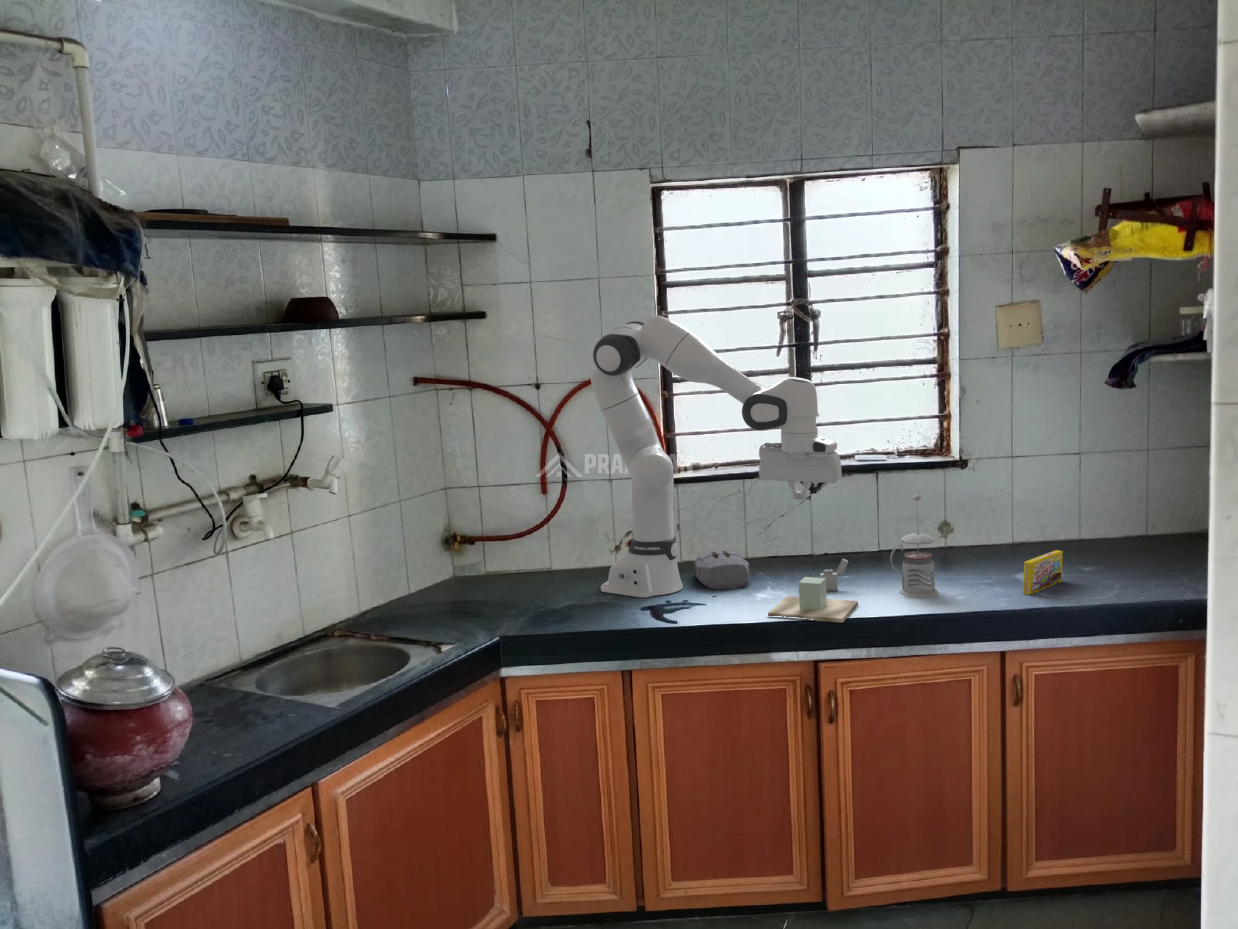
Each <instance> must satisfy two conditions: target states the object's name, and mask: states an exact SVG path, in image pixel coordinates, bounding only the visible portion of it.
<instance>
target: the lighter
mask: <svg viewBox="0 0 1238 929" xmlns="http://www.w3.org/2000/svg"><path fill="white" fill-rule="evenodd" d="M848 563H849V561H848V560H847V559H845V558H841V561H840V562H839V565H838V567H837V569H836V572H833V569H825V570H823V572H822V573H819V578H826V590H827V591H826V592H828V590H834V591H838V576H840V577H842V576H843V574H844V572H845V571H846V569H847V566H848Z"/></svg>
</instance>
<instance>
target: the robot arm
mask: <svg viewBox="0 0 1238 929" xmlns="http://www.w3.org/2000/svg"><path fill="white" fill-rule="evenodd" d="M592 352H593V353H592V358H593V363H594V365H595V367H594V369H592V371H591V373H590V382H591V386H592V390H593V394H594V397H595V400H596V402H597V405H598V407H599V409H600V411H601V414H602V416H603V417H604V419H605V423H606V424H607V427H608V428H609V429H608V430H609V431H610V433H611V435H612V437H613V440H614V443H615V444H616V447H617V449H618V452H619V454H620V456H621V458H622V460H623V463H624V465H625V467H626V469H627V471H628V473H629V475H630V477H631V491H632V492H631V496H632V497H631V518H632V535H633V536H632V538H631V539H628V541H626V542H625V543H624V544H625V546H624V547H625V548H628V550H627V552H626V553H625V554H623V555H622V556H621V557H620V558H619V559H618V560H617V561H615V562H614V563H613V564H612V565H611V566H610V568H609V571H608V572H609V573H608V579H607V581H605V582H604V583H602V584H601V586H600V592H602V593H608V594H617V595H622V596H630V597H636V598H650V597H653V596H654V597H655V596H661V595H662V596H664V595H667V594H672V593H673V594H674V593H676V592H679V591H681V590H682V589H684V586H683V582H682V580H681V577H680V576H681V575H680V573H679V567H678V561H677V558H678V557H677V556H678V553H677V552H678V547H677V546H678V545H677V537H676V536H675V527H674V526H675V525H674V481H675V480H674V463H673V461H672V459H671V458H670V456H669V455H668V454H667V453H666V452H665V451H664V449H663V446H662V444H661V442H660V440H659V437H658V435H657V432H656V430H655V427H654V425H653V421H652V419H651V417H650V414H649V413H648V410H647V408H646V406H645V404H644V401H643V399H642V397H641V395H640V393H639V389H638V388H637V386H636V383H635V381H634V379H633V371H634V369H635V368H638V367H640V366H641V365H642V364H643V363H644V362H645V361H646V360H648V359H650V360H654V361H655V362H657V363H658V364H659V365H661V366H662V367H664V368H665V369H666V370H668V371H669V372H671V373H672V374H673V375H676V376H677V377H679V378H681V379H683V380H685V381H688V382H692V383H699V384H700V383H701V384H706V385H711V386H713V387H717V388H719V389H720V390H721V391H723V392H724V393H726V394H728V395H729V396H731V397H733V398H734V399H735V400H737V401H738V402H740V403H741V404H742V407H741V416H742V417H741V418H742V419H743V421H744V423H745V424H746V425H747V426H748V427H749V428H750V429H752V430H754V431H755V430H756V431H760V432H762V431H763V432H764V431H769V430H772V429H775V428H779V429H780V441H781V442H773V443H772V442H765V443H764V444H762V445H760V447H759V450H758V457H759V459H760V460H759V465H758V477H759V478H760V479H761V480H762V481H781V482H782V481H783V482H785V481H786V482H788V487H789V489H790V490H791V492H792V499H793V500H801V501H802V500H803V501H806V500H807V492H808V491H809V489H810V488H811V485H812V483H826V484H827V483H828V484H837V483H839V481H840V480H841V479H842V474H843V473H842V463H841V462H842V461H841V457H840V454H838V452H837V451H836V450H837V448H838V443H837V442H836V441H834V440H831V439H829V438H825V437H823V436H820V435H819V433H818V431H819V429H818V426H817V417H818V414H819V413H818V411H819V410H818V396H817V389H816V386H815V385H816V384H814V383H813V382H812V381H811V380H810V379H806V378H802V377H797V376H786V377H784V378H783V379H782V380H781V381H779V382H778V383H776V384H773V385H771V386H765V385H762V384H759V383H757V382H756V381H754V380H752V379H751V378H749V377H748V376H746V375H745V374H744V373H742V372H740V371H739V370H737V369H736V368H735V367H733V366H732V365H730V364H729V363H728V362H726V360H724V359H723V358H722V357H721V356H720V355H718V353H717V352H715V350H714V349H712V348H711V347H710V346H709V345H708V344H707V343H706V342H705V341H703V339H701V338H700V337H698V336H697V335H696V334H695V333H694V332H692V331H691V330H689V329H687V328H686V327H685V326H682V325H681V324H680V323H677V322H675V321H674V320H671V319H669V318H668V317H664V315H663V316H662V315H655V316H652V317H651V318H648V319H647V320H646V321H645V322H643V321H637V320H636V321H629V322H627V323H624V324H623V325H620V326H618V327H615V328H614V329H612V331H610V332H609V333H607V334H606V335H604V336H602V337H601V338H600V339H599V340H598V341H597V343H596V344H595V346H594V348H593V351H592ZM797 482H800V483H801V482H802V486H803V487H804V488H803V490H802V491H800V490H799V491H798V489H797V486H796V485H797Z"/></svg>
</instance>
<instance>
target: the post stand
mask: <svg viewBox="0 0 1238 929" xmlns="http://www.w3.org/2000/svg"><path fill="white" fill-rule="evenodd" d="M826 599H827V605H826V606H825V607H824V608H823V609H822V610H821V611H820V610H807V609H800V604H799V596H790V595H786V596H785V597H784V598H783V599H781V601H780V602H778V603H777V604H776V605H775V606H774V607H772V609H770V610H769V611H768V612H767V617H768V616H782V617H784V616H785V617H797V618H798V617H799V618H806V619H813V620H812V621H814V620H815V622H829V623H841V624H842V623H844V622H845V621H846V620H847V619H848V617H849V616H850V615H851V614H852V613H853V612H854V611H855V610H856V608H857V607H858V605H859V601H858V600H849V599H848V600H847V599H835V598H834V599H833V598H826ZM856 606H857V607H856ZM850 613H851V614H850ZM849 614H850V615H849ZM847 616H848V617H847Z"/></svg>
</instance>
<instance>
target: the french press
mask: <svg viewBox="0 0 1238 929" xmlns="http://www.w3.org/2000/svg"><path fill="white" fill-rule="evenodd" d="M912 500H913V501H916V502H918V501H921V500H922V499H921V496H920V495H919V494H915V495H914V496H913V497H912ZM918 516H919V515H918V508H916V532H913V533H908V534H906V535H905V536H903V537H901V539H900V541H901V542H902V543H903V544H908V545H916V546H917V547H916V548H917V549H919V545H928V544H933V543H934V541H935V538H934V537H933V536H931V535H929V534H925V533H923V532H919V524H918V523H919V522H918V520H919V518H918ZM903 544H898V545H895V547H894V548H892V550H891V553H890V559H889V560H890V563H891V567H892V569H893V570H894V571H895V572H896V573H898V574H900V575H901V587H902V588H900V590H899V591H898V594H900V595H901V596H904V597H906V596H907V597H906V598H913V599H926V598H933V597H932V596H934V597H936V596H938V595H939V593H940V592H939V590H937V589H936V588H935V587H936V586H935V585H936V583H935V574H936V573H935V560H934V559H932V558H933V556H934V555H933V554H932V553H930V552H925V551H911V552H910V551H909V552H905V553H904V554H903V557H904V558H903V559H902V571H901V570H898V569H897V568H896V567H895V566H894V564H893V556H894V553H895V551H897V549H899V548H900V549H901V552H903V551H904V546H903ZM913 562H915V563H918V564H915V563H913ZM911 563H912V564H911ZM928 573H929V574H928ZM930 573H931V574H930Z"/></svg>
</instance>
